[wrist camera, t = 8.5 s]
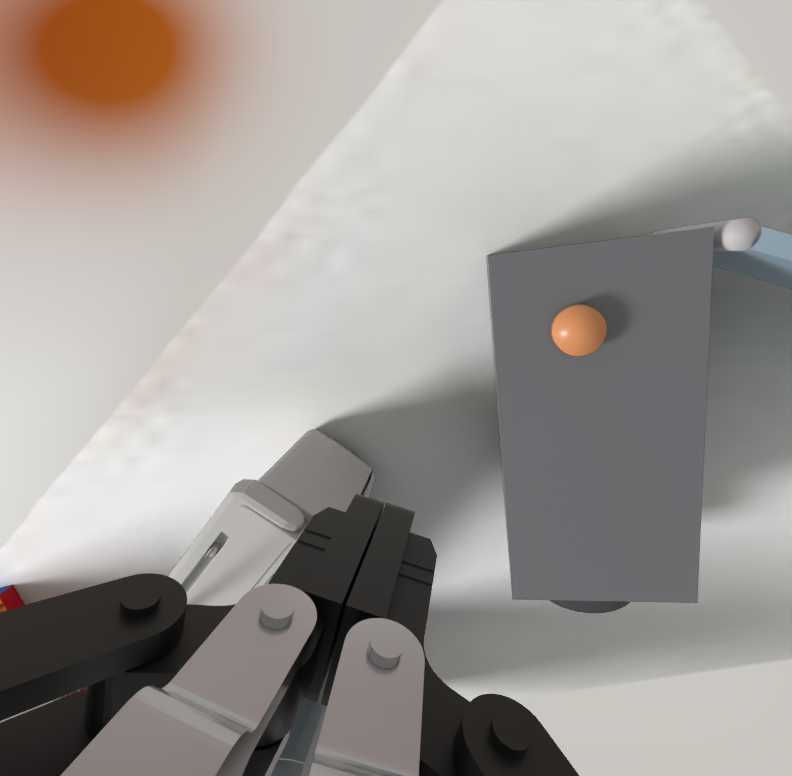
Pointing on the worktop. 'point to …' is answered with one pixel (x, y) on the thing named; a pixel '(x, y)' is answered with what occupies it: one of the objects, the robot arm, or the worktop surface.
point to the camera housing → (603, 416)
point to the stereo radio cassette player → (269, 519)
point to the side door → (749, 249)
